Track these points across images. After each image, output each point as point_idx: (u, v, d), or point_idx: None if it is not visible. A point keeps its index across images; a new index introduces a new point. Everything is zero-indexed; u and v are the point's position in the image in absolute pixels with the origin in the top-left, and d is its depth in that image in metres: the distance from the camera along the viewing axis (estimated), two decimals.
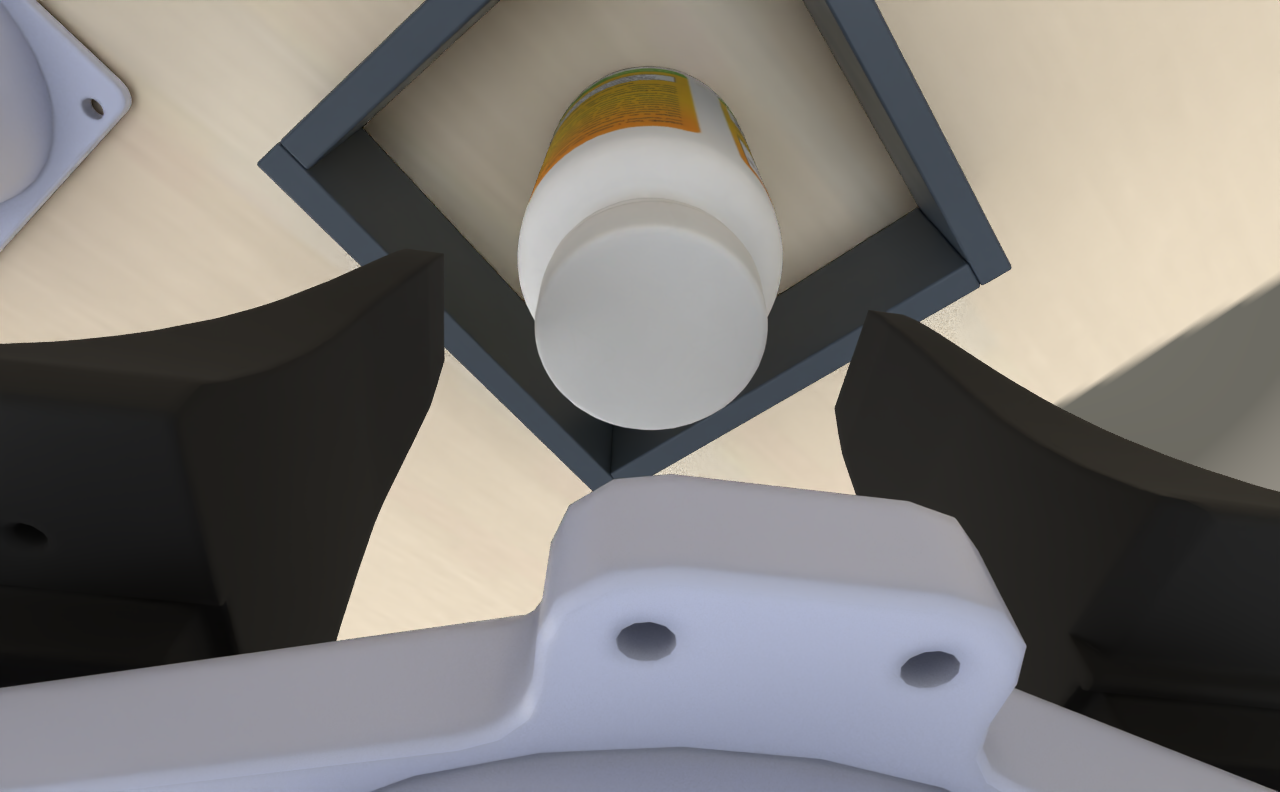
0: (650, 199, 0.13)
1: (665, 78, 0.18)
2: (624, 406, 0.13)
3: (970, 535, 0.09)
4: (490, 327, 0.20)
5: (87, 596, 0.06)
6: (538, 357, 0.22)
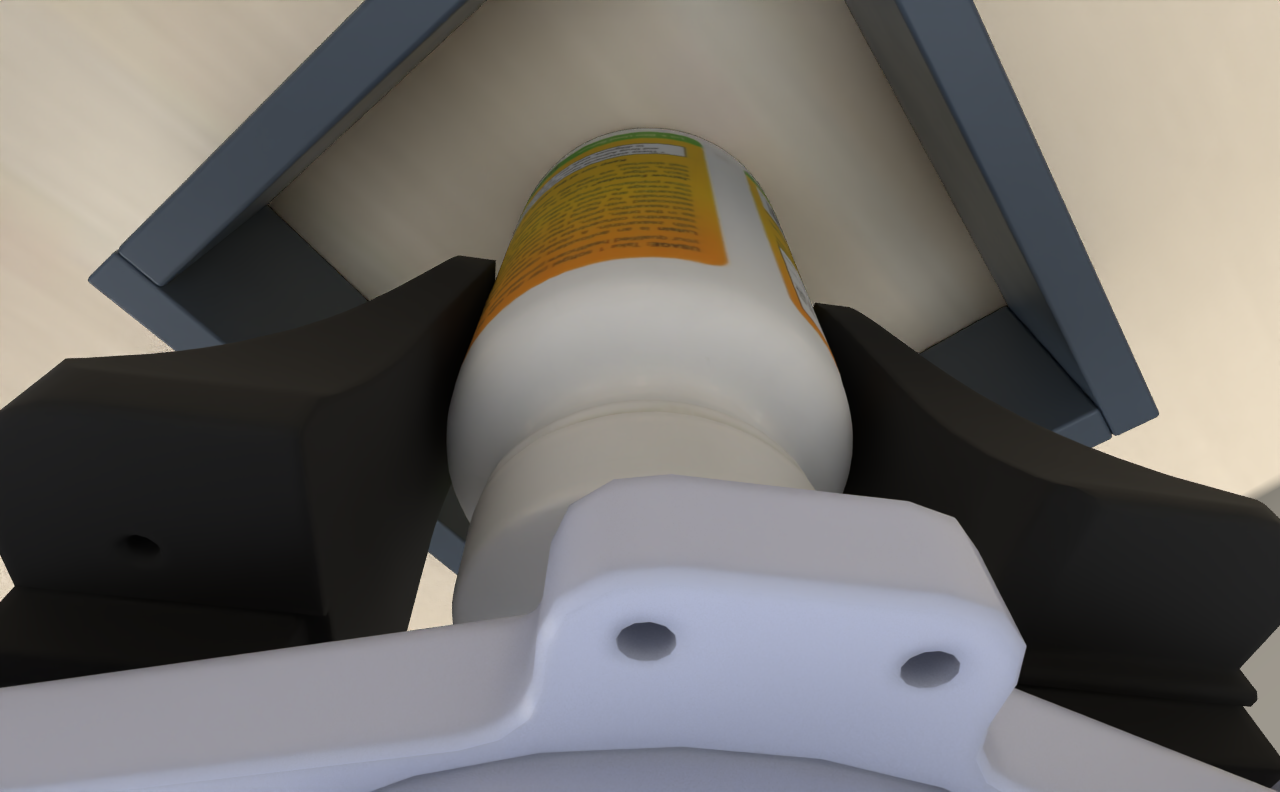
0: (647, 403, 0.07)
1: (672, 150, 0.13)
2: None
3: None
4: None
5: (191, 606, 0.06)
6: None
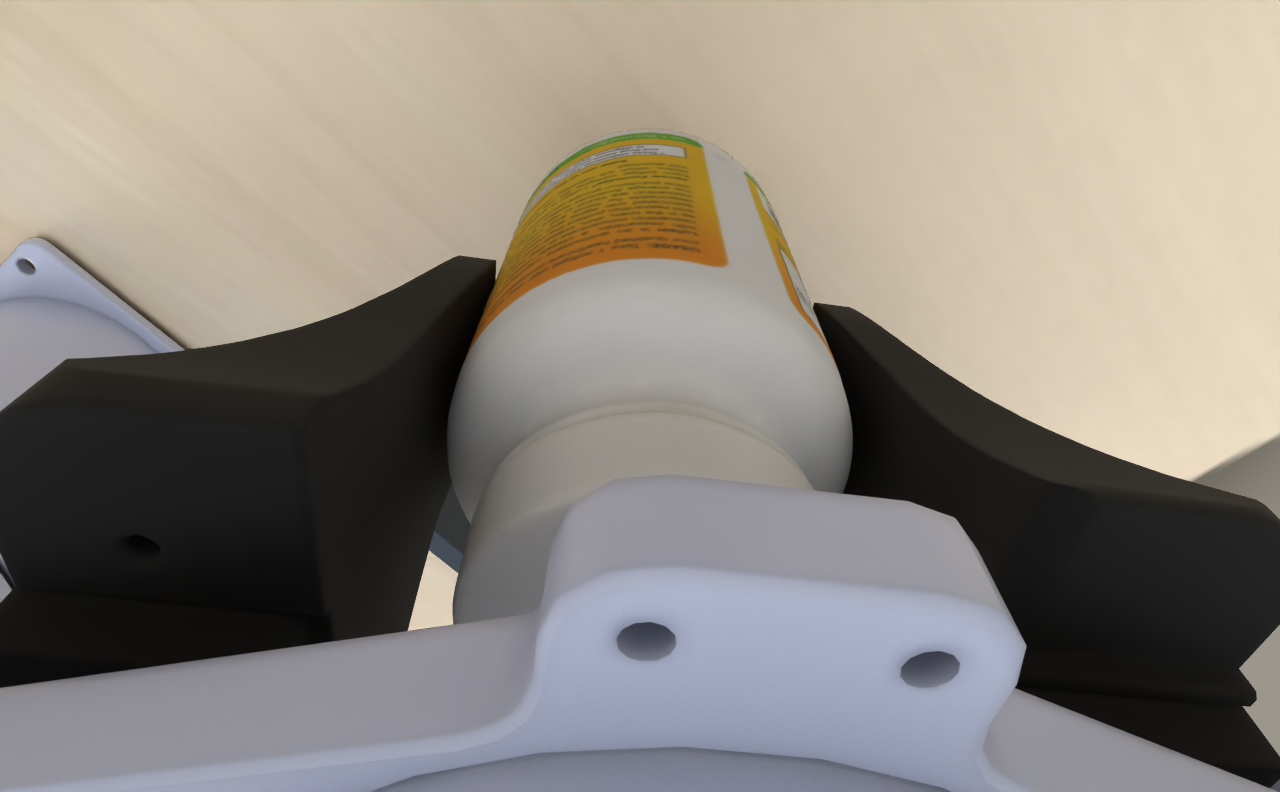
0: (648, 404, 0.07)
1: (672, 151, 0.13)
2: None
3: None
4: None
5: (191, 608, 0.06)
6: None
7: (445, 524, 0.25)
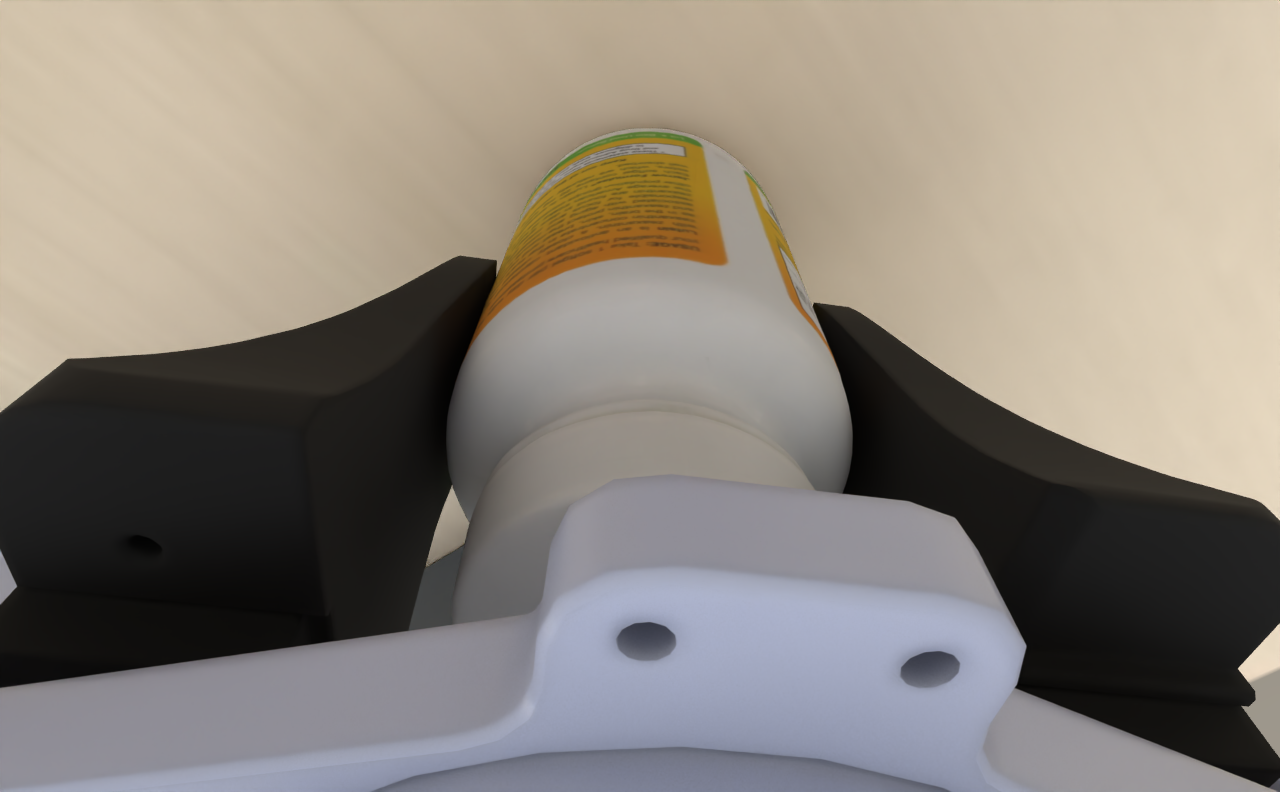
0: (647, 403, 0.07)
1: (672, 150, 0.13)
2: None
3: None
4: None
5: (192, 608, 0.06)
6: None
7: None
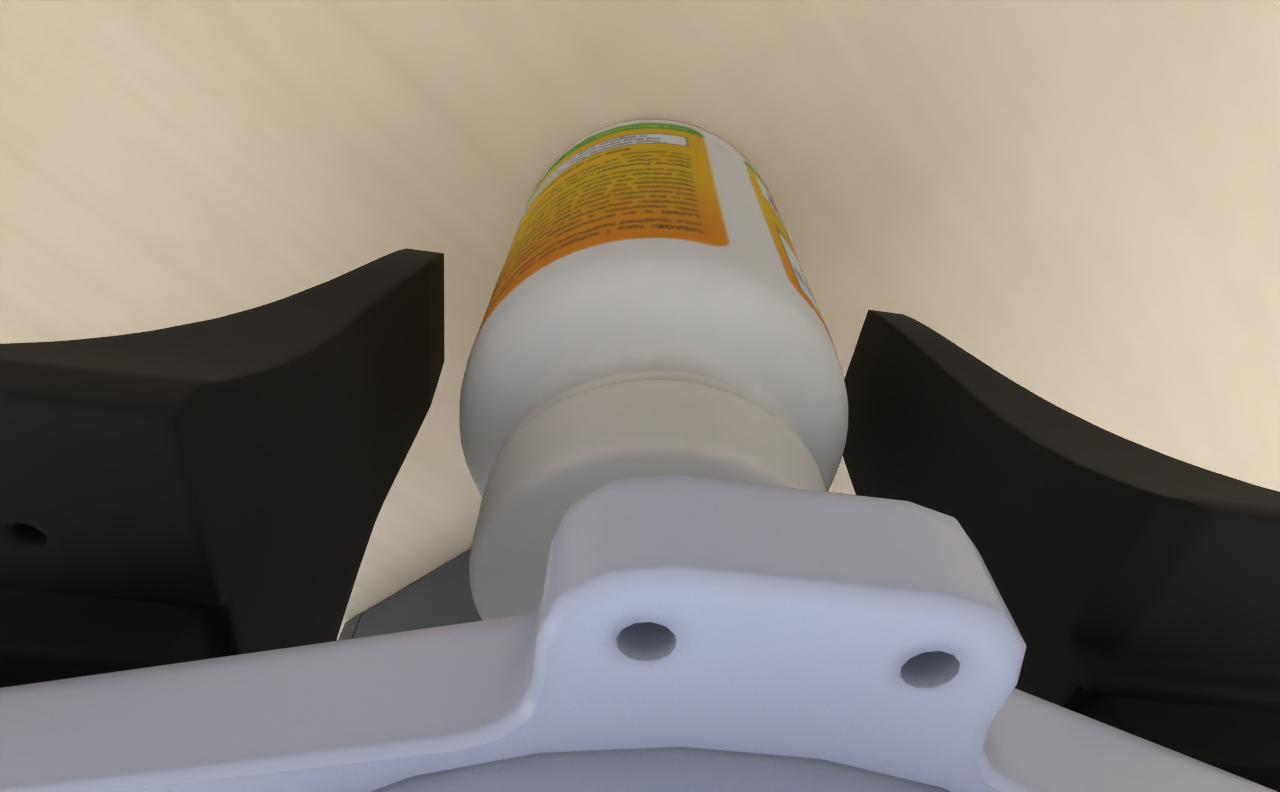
0: (654, 373, 0.08)
1: (674, 140, 0.13)
2: None
3: (970, 535, 0.09)
4: None
5: (87, 596, 0.06)
6: None
7: None
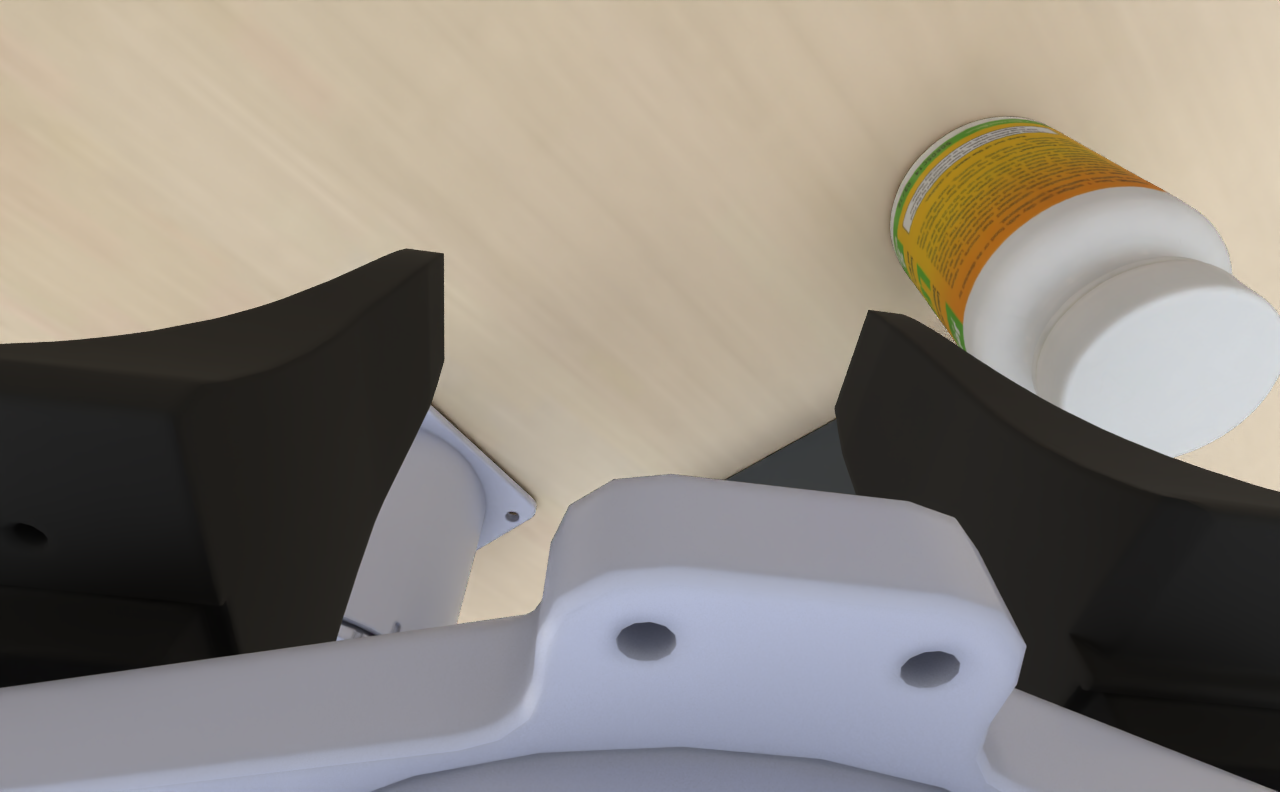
0: (1171, 258, 0.14)
1: (1046, 130, 0.19)
2: None
3: (970, 534, 0.09)
4: None
5: (86, 596, 0.06)
6: None
7: None
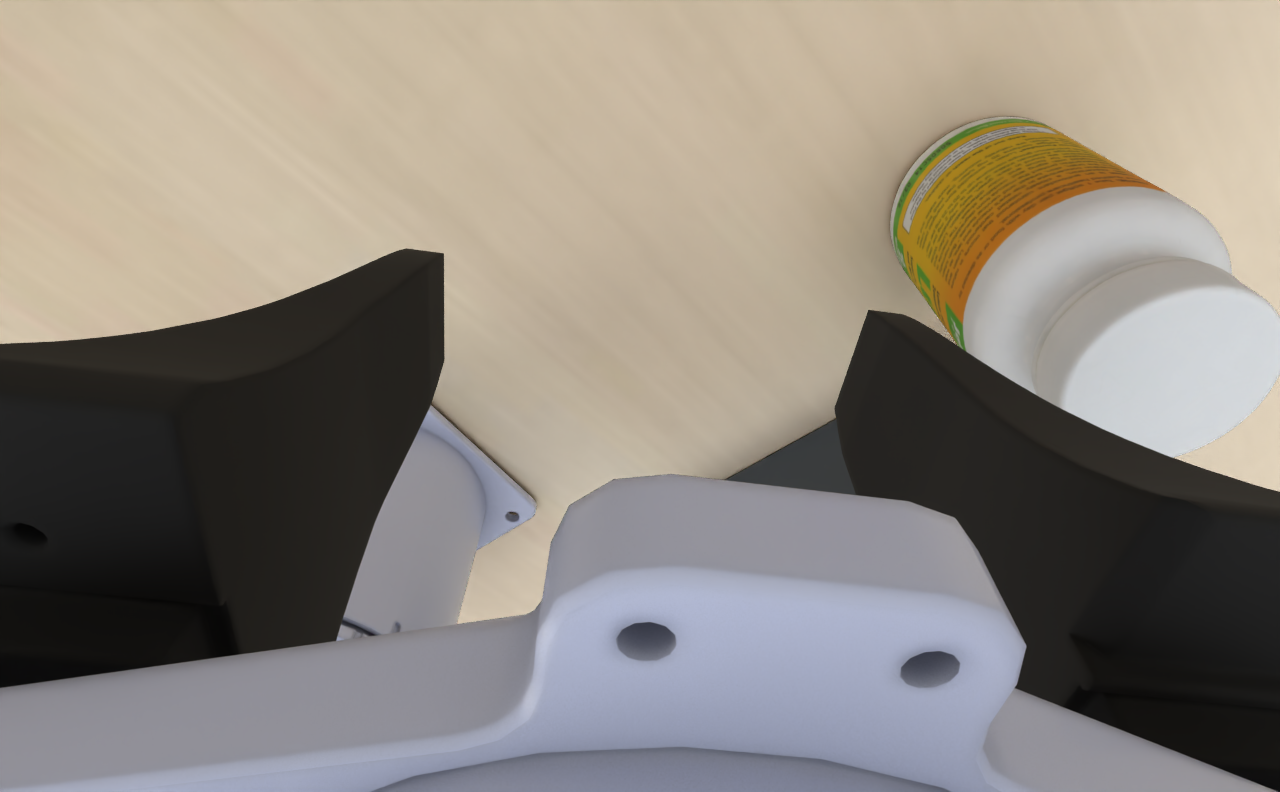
0: (1171, 258, 0.14)
1: (1046, 130, 0.19)
2: None
3: (970, 534, 0.09)
4: None
5: (86, 596, 0.06)
6: None
7: None
